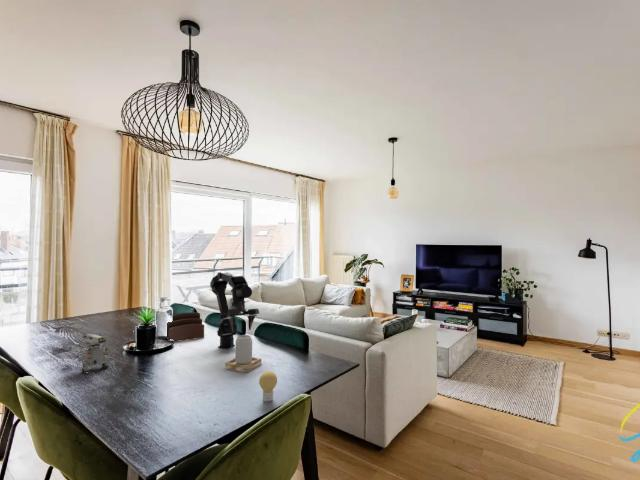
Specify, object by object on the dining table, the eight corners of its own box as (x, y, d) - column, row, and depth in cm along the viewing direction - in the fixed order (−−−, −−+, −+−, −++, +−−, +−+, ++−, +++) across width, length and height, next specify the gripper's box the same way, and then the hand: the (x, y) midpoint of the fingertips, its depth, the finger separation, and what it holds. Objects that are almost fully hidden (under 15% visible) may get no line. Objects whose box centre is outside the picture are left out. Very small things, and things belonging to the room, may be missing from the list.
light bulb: (259, 396, 125) (260, 368, 125) (277, 395, 126) (277, 368, 126) (258, 404, 119) (258, 375, 119) (276, 404, 119) (276, 375, 120)
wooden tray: (225, 368, 152) (225, 363, 152) (240, 360, 163) (240, 355, 163) (247, 372, 148) (247, 366, 148) (261, 363, 159) (261, 358, 159)
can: (252, 359, 160) (253, 334, 160) (251, 365, 152) (251, 338, 152) (236, 360, 159) (236, 334, 159) (233, 365, 152) (234, 338, 152)
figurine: (99, 363, 157) (100, 330, 157) (109, 369, 149) (110, 335, 150) (76, 369, 149) (77, 334, 150) (85, 375, 142) (86, 339, 142)
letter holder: (164, 338, 199) (165, 314, 199) (199, 333, 210) (200, 310, 210) (168, 342, 191) (168, 317, 191) (204, 337, 202) (204, 313, 202)
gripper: (213, 302, 167) (216, 335, 164) (250, 297, 164) (253, 330, 161) (223, 302, 177) (226, 332, 174) (258, 297, 175) (260, 328, 172)
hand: (241, 331), depth 170 cm, fingers open, 9 cm apart
